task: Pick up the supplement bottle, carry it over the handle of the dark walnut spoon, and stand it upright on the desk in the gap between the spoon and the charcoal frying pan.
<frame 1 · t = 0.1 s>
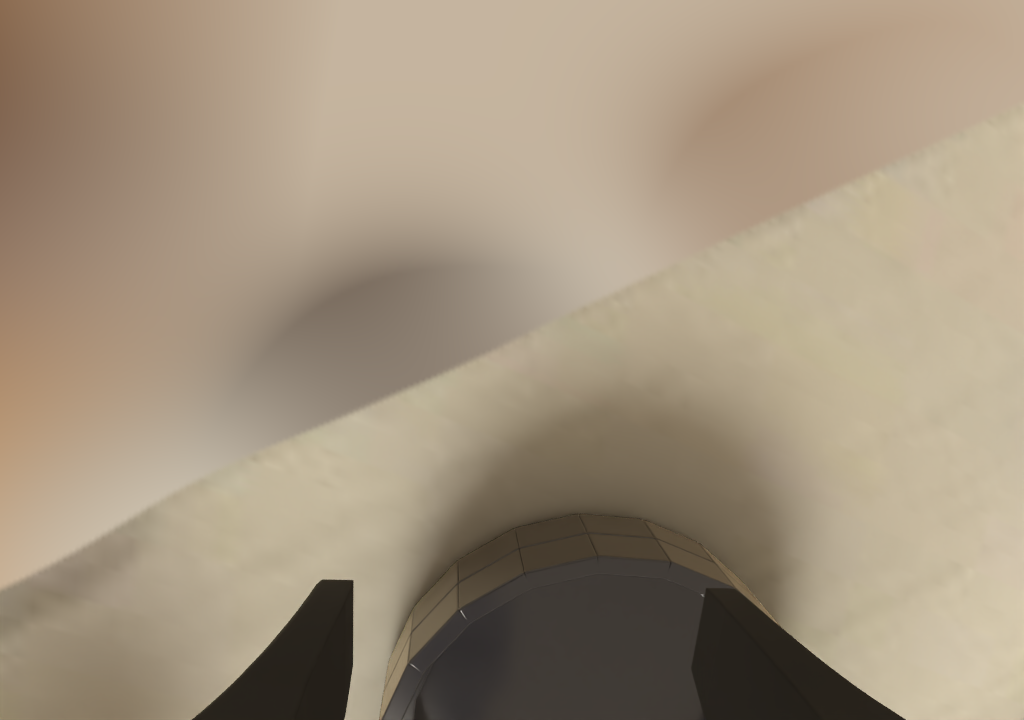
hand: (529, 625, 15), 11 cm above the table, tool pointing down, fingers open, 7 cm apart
frying pan: (581, 694, 27), on the table
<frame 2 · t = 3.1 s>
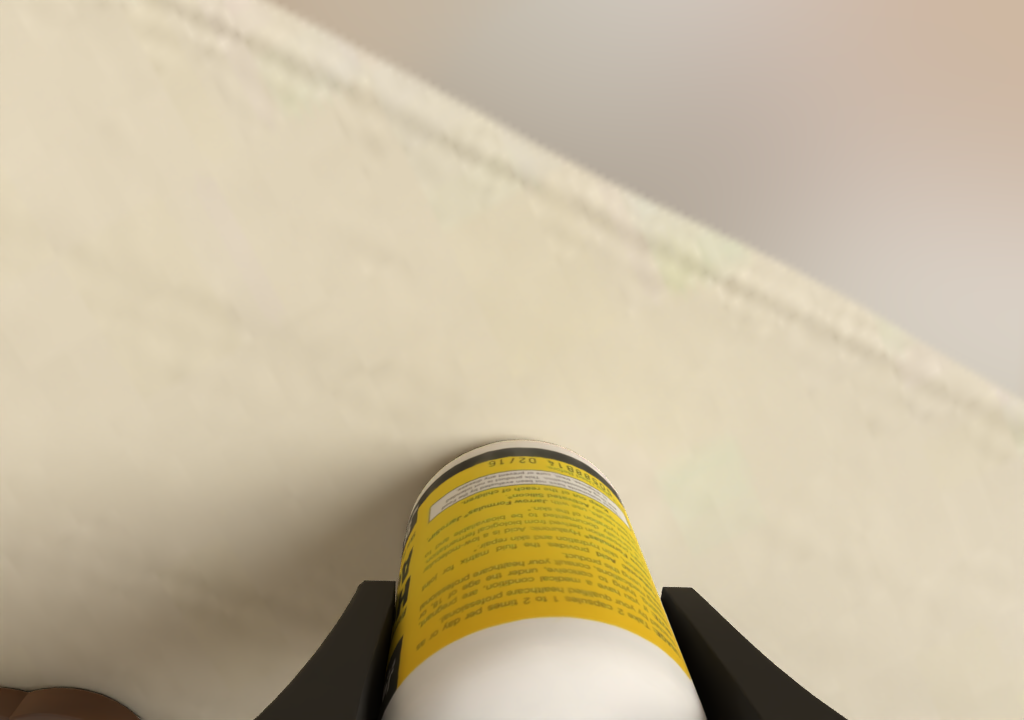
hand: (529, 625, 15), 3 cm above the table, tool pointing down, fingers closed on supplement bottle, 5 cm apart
supplement bottle: (514, 529, 18), on the table, touching gripper
when the fingers open (3 cm above the table, at t = 7.8 s): supplement bottle stays where it is, on the table.
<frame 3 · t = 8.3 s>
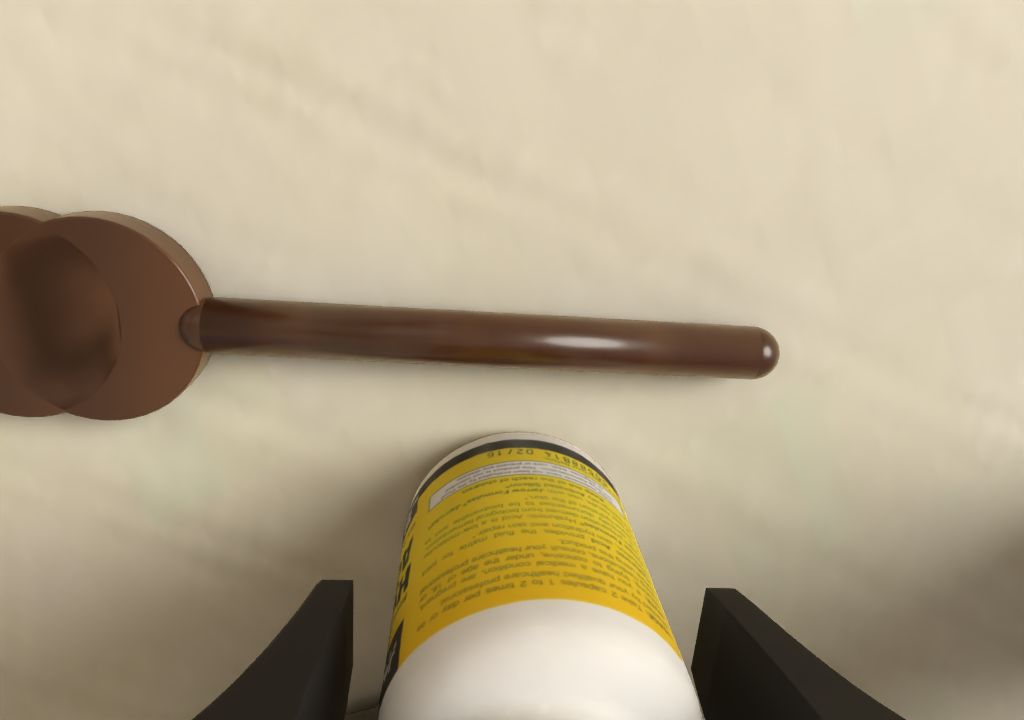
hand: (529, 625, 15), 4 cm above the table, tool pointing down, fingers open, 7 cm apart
supplement bottle: (512, 520, 18), on the table
walnut spoon: (355, 325, 16), on the table
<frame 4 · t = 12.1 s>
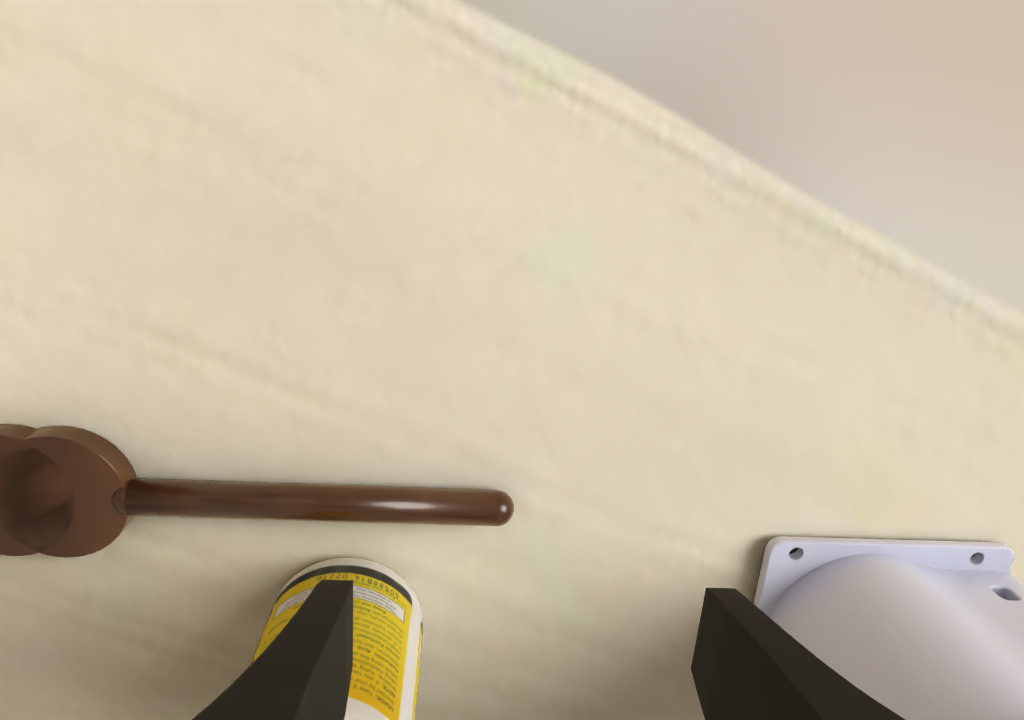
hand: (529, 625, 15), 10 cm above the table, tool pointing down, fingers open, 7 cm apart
supplement bottle: (350, 612, 27), on the table
walnut spoon: (231, 490, 25), on the table
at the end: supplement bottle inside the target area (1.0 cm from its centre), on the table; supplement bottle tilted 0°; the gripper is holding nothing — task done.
